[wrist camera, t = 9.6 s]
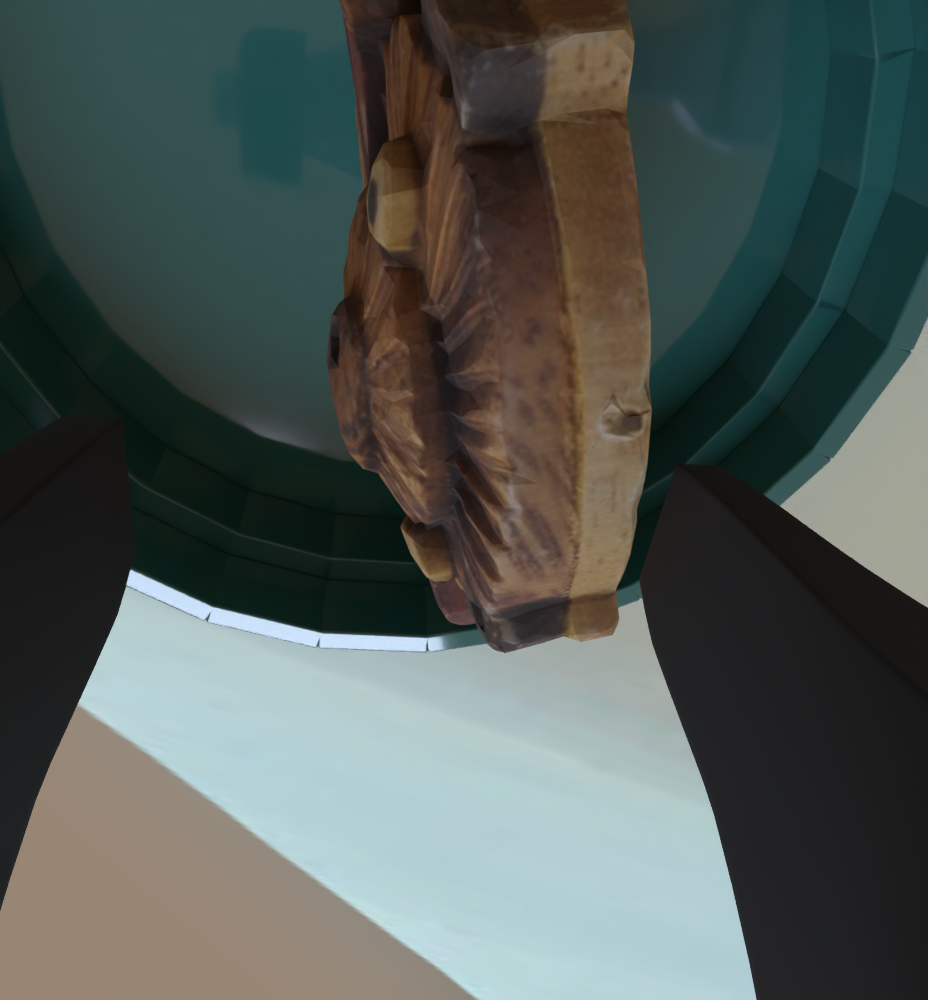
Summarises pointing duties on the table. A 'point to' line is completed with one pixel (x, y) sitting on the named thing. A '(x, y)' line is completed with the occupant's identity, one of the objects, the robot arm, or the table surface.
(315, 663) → the table surface
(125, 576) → the robot arm
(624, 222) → the wooden carving
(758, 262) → the teal bowl
